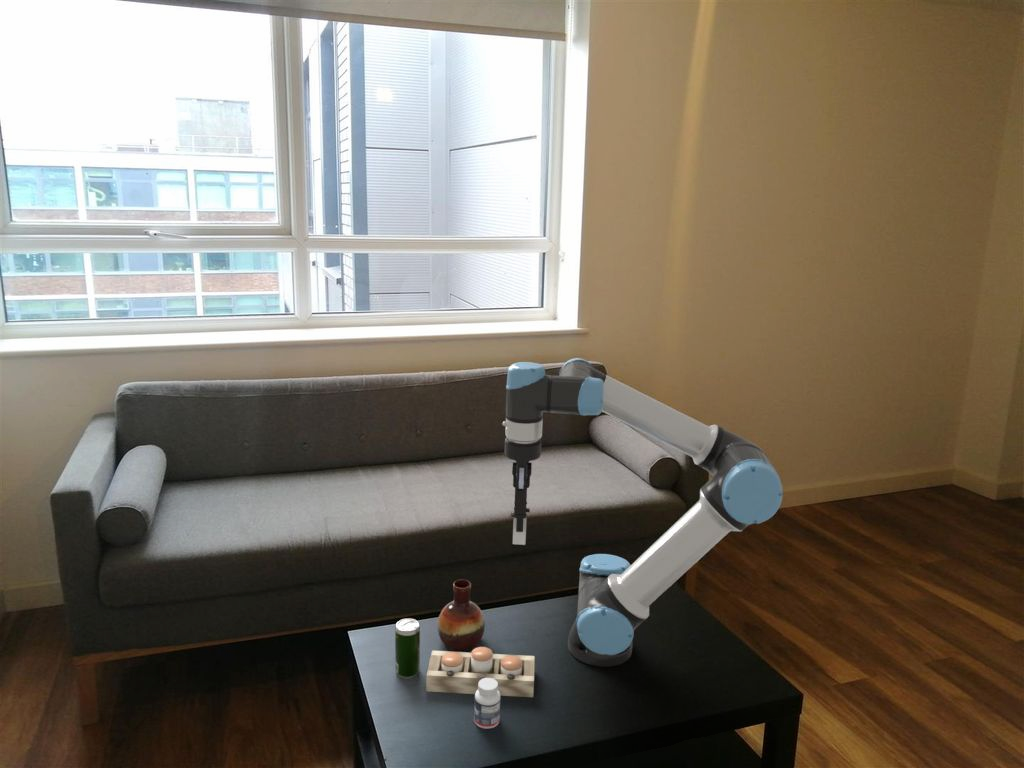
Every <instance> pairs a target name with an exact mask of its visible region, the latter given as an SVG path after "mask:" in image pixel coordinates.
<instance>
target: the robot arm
mask: <svg viewBox="0 0 1024 768" xmlns="http://www.w3.org/2000/svg"><path fill="white" fill-rule="evenodd" d="M558 373H559V375H551V374H546V371H545V366H544V365H543V364H541V363H539V362H531V361H518V362H515V363H512V364H511V365H510V366H509V367H508V369H507V376H506V386H505V391H506V392H505V420H504V421H503V422H502V423H501V425H502V426H503V427H505V431H504V432H505V436H506V437H505V439H504V451H503V453H504V456H505V457H506V458H508V459H509V460H512V468H511V469H512V470H511V473H512V477H513V478H512V479H513V480H512V481H513V482H512V486H513V488H514V504H513V505H514V507H513V512H510V517H511V518H513V522H512V523H513V524H512V526H513V527H512V545H522V546H525V545H526V541H527V540H526V539H527V513H531V512H530V507H529V508H527V504H528V501H527V498H528V488H530V483H531V476H532V470H533V468H532V467H533V466H532V464H533V463H532V461H536V460H538V459H539V458H541V455H542V437H543V423H544V422H543V420H544V418H543V415H544V414H543V413H554V414H565V415H566V414H568V415H579V416H584V417H585V416H599V415H601V413H605V414H606V415H608V416H610V417H612V418H614V419H617V420H618V421H620V422H622V423H623V424H626V425H628V426H630V427H632V428H634V429H636V430H638V431H639V432H641V433H644V434H646V435H647V436H649V437H651V438H653V439H656V440H658V441H659V442H661V443H663V444H665V445H667V446H669V447H672V448H673V449H676V450H677V451H679V452H681V453H682V454H684V455H687V456H689V457H691V458H692V460H693V463H694V465H697V466H698V467H700V468H702V469H704V470H706V471H707V472H708V473H709V474H710V475H711V476H712V477H711V478H710V479H709V480H708V481H707V482H706V483H705V484H704V485H702V487H701V488H700V489H699V499H698V501H696V503H695V504H694V505H692V506H691V508H689V509H688V510H687V511H686V512H685V513H684V514H683V515H682V516H681V517H679V519H678V520H677V521H676V522H674V524H673V525H671V527H669V529H667V531H665V532H664V533H663V534H662V535H661V536H659V538H658V539H657V540H656V541H655V542H654V543H652V545H651V546H649V548H647V550H645V551H644V552H643V553H642V554H641V555H640V556H639V557H638V558H636V560H635V561H634V562H633V563H632V564H630V562H629V561H628V560H627V559H625V558H624V557H620V556H618V555H613V554H608V553H595V554H590V555H587V556H584V558H582V560H581V561H580V567H579V568H578V569H579V581H578V595H577V596H578V598H577V599H578V600H577V610H576V611H577V613H576V614H577V615H576V617H575V619H574V622H573V624H572V627H571V629H570V631H569V634H568V638H567V639H568V640H567V648H568V651H569V653H570V654H571V655H572V656H573V657H575V658H576V660H578V661H580V662H582V663H584V664H587V665H591V666H594V667H606V668H607V667H615V666H618V665H621V664H625V662H626V661H628V660H629V659H630V658H631V656H632V654H633V640H634V635H635V633H634V631H635V630H636V629H637V628H638V627H639V626H641V624H642V623H643V622H644V621H646V620H647V619H648V617H649V616H650V606H651V605H652V603H654V602H655V601H656V600H657V599H659V597H660V596H661V595H663V593H665V592H666V591H667V590H668V589H669V588H670V587H671V586H672V585H673V584H674V583H676V582H677V580H679V579H680V578H681V577H682V576H683V575H684V574H685V573H686V572H687V571H688V570H690V569H691V568H692V567H693V566H694V565H695V564H696V563H698V562H699V560H701V558H703V557H704V556H705V555H706V554H707V553H708V552H710V550H711V549H712V548H714V547H715V546H716V545H717V544H718V543H719V542H720V541H722V539H723V538H724V537H725V536H727V535H728V534H729V533H730V532H742V531H744V530H745V529H746V528H747V527H748V526H750V525H753V524H757V525H759V524H762V523H764V522H767V521H768V520H769V519H771V518H772V517H774V515H775V514H776V513H777V511H778V510H779V509H780V507H781V504H782V501H783V486H782V482H781V481H782V480H781V478H780V475H779V474H778V472H777V470H776V469H775V467H774V466H773V464H772V463H771V461H770V459H769V457H768V456H767V455H766V452H765V451H764V450H763V449H762V448H761V447H760V446H758V445H757V444H756V443H754V442H752V441H750V440H749V439H746V438H744V437H743V436H740V435H738V434H737V433H733V432H732V431H729V430H728V429H725V428H723V427H721V426H719V425H717V424H711V425H706V424H704V423H703V422H701V421H700V420H696V419H695V418H693V417H690V416H689V415H687V414H685V413H682V412H681V411H679V410H677V409H675V408H673V407H671V406H669V405H667V404H665V403H663V402H662V401H659V400H657V399H655V398H653V397H651V396H649V395H647V394H645V393H643V392H641V391H639V390H637V389H635V388H634V387H631V386H630V385H628V384H625V383H623V382H621V381H619V380H617V379H615V378H613V377H611V376H609V375H608V374H605V373H603V372H602V371H600V370H598V369H596V368H594V367H593V366H592V364H591V363H590V362H589V361H588V360H586V359H584V358H581V357H574V358H571V359H569V360H567V361H566V362H565V363H564V364H563V366H562V367H561V368H560V370H559V372H558Z"/></svg>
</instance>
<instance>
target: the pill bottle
mask: <svg viewBox="0 0 1024 768" xmlns="http://www.w3.org/2000/svg"><path fill="white" fill-rule="evenodd" d="M473 712H474V713H473V714H474V715H473V722H474V724H475V725H476V726H477V727H479V728H481V729H484V730H487V729H488V730H489V729H494V728H495V727H497V726H498V725H499V723H500V720H501V716H500V715H501V696H500V692H499V691H498V682H497V681H496V680H495V679H493V678H484V679H481V680H480V681H479V683H478V690H477V691H476V693H475V694H474V711H473Z"/></svg>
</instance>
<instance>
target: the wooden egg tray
mask: <svg viewBox="0 0 1024 768" xmlns="http://www.w3.org/2000/svg"><path fill="white" fill-rule="evenodd" d="M447 653H458V654H460V655H461V656H462V658H463V669H462V672H453V671H441V667H442V657H443V655H445V654H447ZM471 654H472V652H466V651H452V650H451V651H448V650H431V654H430V657H429V662H428V663H429V664H428V665H427V666H428V667H427V672H426V679H425V680H426V684H425V685H426V686H425V687H426V689H425V691H426V692H430V693H432V692H433V693H449V694H469V695H475V693H476V691H477V690H478V683H479V681H480V680H481V679H484V678H493V679H495V680H496V681H497V682H498V691H499V692H500V697H501V696H503V697H504V696H505V697H520V698H521V697H522V698H534V689H535V688H534V687H535V655H522V654H521V655H520V654H503V653H502V654H501V653H493V658H492V673H491V674H484V673H471ZM507 656H516V657H518V658H520V659H521V660H522V676H520V675H513V674H509V675H502V674H501V660H502V659H503V658H504V657H507Z"/></svg>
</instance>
